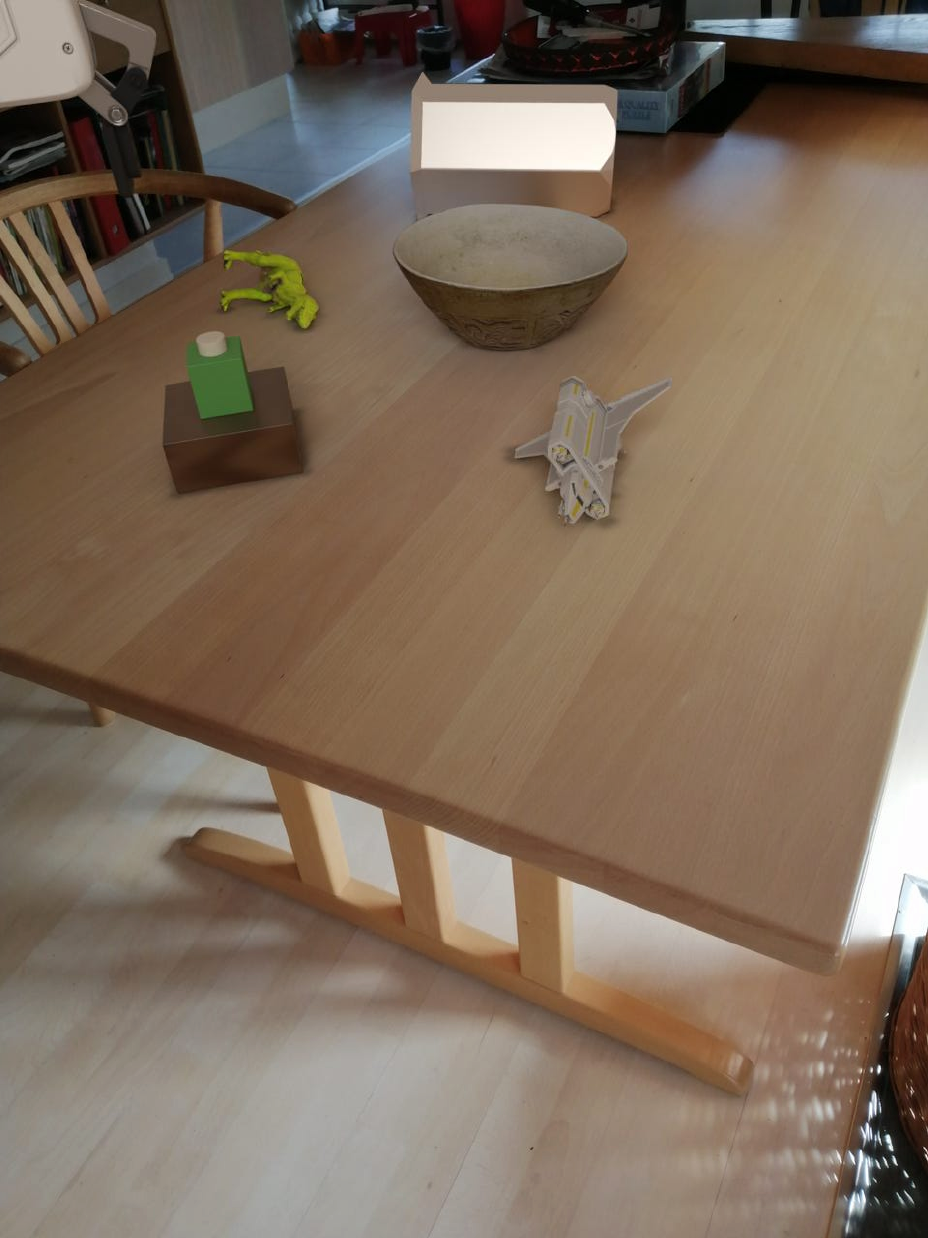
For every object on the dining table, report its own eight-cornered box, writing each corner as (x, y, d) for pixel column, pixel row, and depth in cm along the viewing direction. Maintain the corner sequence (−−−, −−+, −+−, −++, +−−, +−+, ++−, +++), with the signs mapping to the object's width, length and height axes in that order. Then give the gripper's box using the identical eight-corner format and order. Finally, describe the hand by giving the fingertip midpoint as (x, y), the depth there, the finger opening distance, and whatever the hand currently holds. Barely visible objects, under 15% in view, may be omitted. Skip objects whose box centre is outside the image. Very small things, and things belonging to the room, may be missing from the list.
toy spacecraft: (540, 479, 91) (693, 411, 84) (516, 587, 80) (690, 521, 73) (493, 410, 87) (649, 333, 80) (461, 514, 76) (639, 436, 69)
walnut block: (177, 494, 87) (162, 444, 84) (179, 432, 96) (165, 384, 92) (302, 472, 88) (292, 423, 85) (293, 413, 97) (284, 365, 93)
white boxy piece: (422, 249, 137) (404, 143, 119) (433, 154, 142) (418, 39, 125) (606, 252, 135) (616, 145, 117) (610, 156, 140) (620, 39, 122)
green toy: (200, 419, 87) (182, 353, 83) (200, 394, 90) (183, 330, 86) (253, 410, 87) (238, 344, 83) (251, 386, 91) (236, 321, 87)
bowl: (639, 288, 113) (643, 196, 106) (606, 389, 96) (608, 288, 89) (439, 280, 119) (431, 193, 112) (374, 375, 102) (361, 278, 95)
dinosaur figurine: (190, 290, 122) (177, 239, 118) (265, 267, 126) (255, 216, 122) (264, 344, 109) (252, 289, 105) (345, 316, 113) (337, 262, 109)
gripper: (-280, -128, 46) (-114, 244, 57) (102, -165, 48) (190, 202, 59) (-228, -138, 52) (-86, 202, 63) (112, -171, 54) (190, 165, 65)
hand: (47, 202), depth 61 cm, fingers open, 9 cm apart
